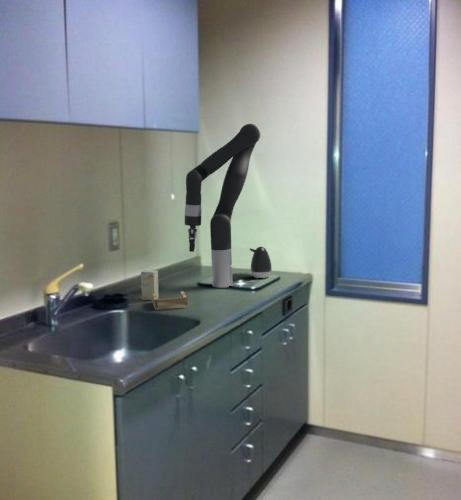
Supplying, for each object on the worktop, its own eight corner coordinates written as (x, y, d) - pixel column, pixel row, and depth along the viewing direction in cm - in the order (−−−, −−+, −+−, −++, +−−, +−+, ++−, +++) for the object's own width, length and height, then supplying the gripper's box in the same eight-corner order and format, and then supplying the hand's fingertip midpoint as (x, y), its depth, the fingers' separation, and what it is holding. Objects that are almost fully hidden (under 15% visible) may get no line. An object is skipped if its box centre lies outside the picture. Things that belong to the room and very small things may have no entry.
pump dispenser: (251, 275, 313) (250, 245, 311) (272, 275, 312) (271, 244, 310) (249, 279, 303) (248, 248, 301) (271, 279, 302) (270, 248, 300)
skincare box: (141, 299, 269) (140, 271, 267) (146, 297, 273) (144, 269, 271) (154, 300, 267) (153, 272, 265) (159, 298, 271) (158, 270, 269)
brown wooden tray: (152, 302, 264) (152, 293, 263) (183, 300, 266) (183, 290, 265) (155, 310, 251) (154, 300, 250) (187, 307, 253) (187, 297, 253)
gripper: (201, 216, 279) (199, 252, 282) (201, 213, 293) (200, 248, 296) (184, 216, 279) (183, 252, 281) (185, 212, 293) (184, 247, 295)
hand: (192, 250), depth 288 cm, fingers open, 8 cm apart
